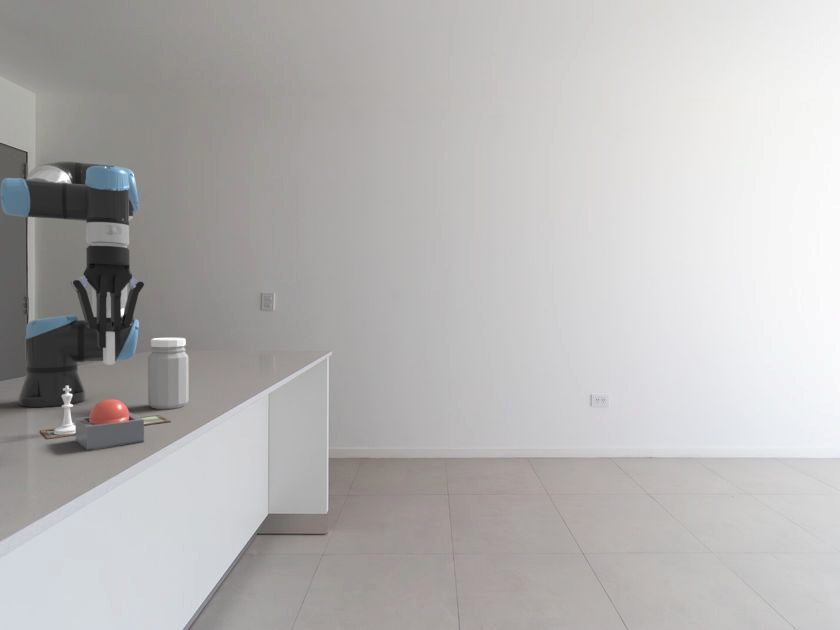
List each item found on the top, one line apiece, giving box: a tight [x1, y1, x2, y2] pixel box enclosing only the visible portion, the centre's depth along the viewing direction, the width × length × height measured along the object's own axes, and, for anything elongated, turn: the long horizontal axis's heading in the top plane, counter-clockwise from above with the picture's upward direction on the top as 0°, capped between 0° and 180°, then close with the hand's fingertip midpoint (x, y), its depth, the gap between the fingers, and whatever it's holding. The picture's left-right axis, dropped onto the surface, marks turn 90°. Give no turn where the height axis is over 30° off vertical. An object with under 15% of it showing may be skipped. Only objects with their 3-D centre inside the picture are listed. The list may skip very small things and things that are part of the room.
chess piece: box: [53, 386, 76, 436], centre depth 120 cm, size 5×5×10 cm
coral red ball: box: [88, 398, 130, 425], centre depth 113 cm, size 7×7×7 cm
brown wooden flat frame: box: [39, 414, 171, 440], centre depth 125 cm, size 9×24×1 cm, turn 132°
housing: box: [74, 411, 145, 452], centre depth 113 cm, size 10×10×4 cm
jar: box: [147, 337, 190, 410], centre depth 148 cm, size 10×10×18 cm
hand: (109, 363), depth 112 cm, fingers closed
